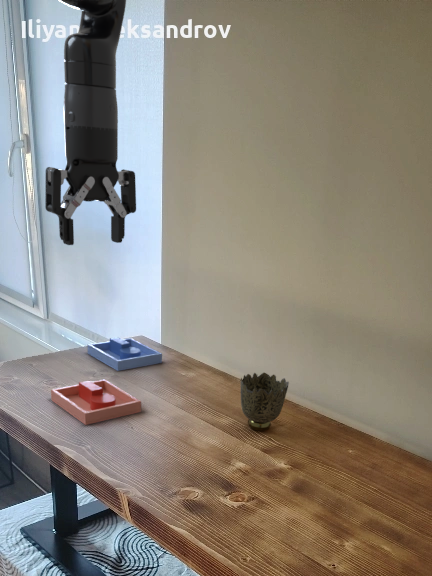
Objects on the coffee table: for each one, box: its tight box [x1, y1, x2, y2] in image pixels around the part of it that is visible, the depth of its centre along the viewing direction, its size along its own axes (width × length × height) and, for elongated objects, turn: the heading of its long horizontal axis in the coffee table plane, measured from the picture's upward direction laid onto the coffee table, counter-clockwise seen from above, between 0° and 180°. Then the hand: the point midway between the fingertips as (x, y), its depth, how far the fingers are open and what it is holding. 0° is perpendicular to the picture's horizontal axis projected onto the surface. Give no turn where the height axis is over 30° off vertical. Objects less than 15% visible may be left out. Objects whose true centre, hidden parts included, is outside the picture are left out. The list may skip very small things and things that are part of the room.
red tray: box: [50, 378, 142, 426], centre depth 102 cm, size 11×10×2 cm
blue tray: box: [87, 337, 163, 372], centre depth 124 cm, size 11×10×2 cm
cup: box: [240, 372, 290, 432], centre depth 98 cm, size 8×7×8 cm
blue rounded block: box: [109, 336, 141, 360], centre depth 123 cm, size 8×4×3 cm, turn 40°
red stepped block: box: [78, 380, 116, 410], centre depth 102 cm, size 8×4×3 cm, turn 40°
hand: (92, 243), depth 97 cm, fingers open, 8 cm apart
